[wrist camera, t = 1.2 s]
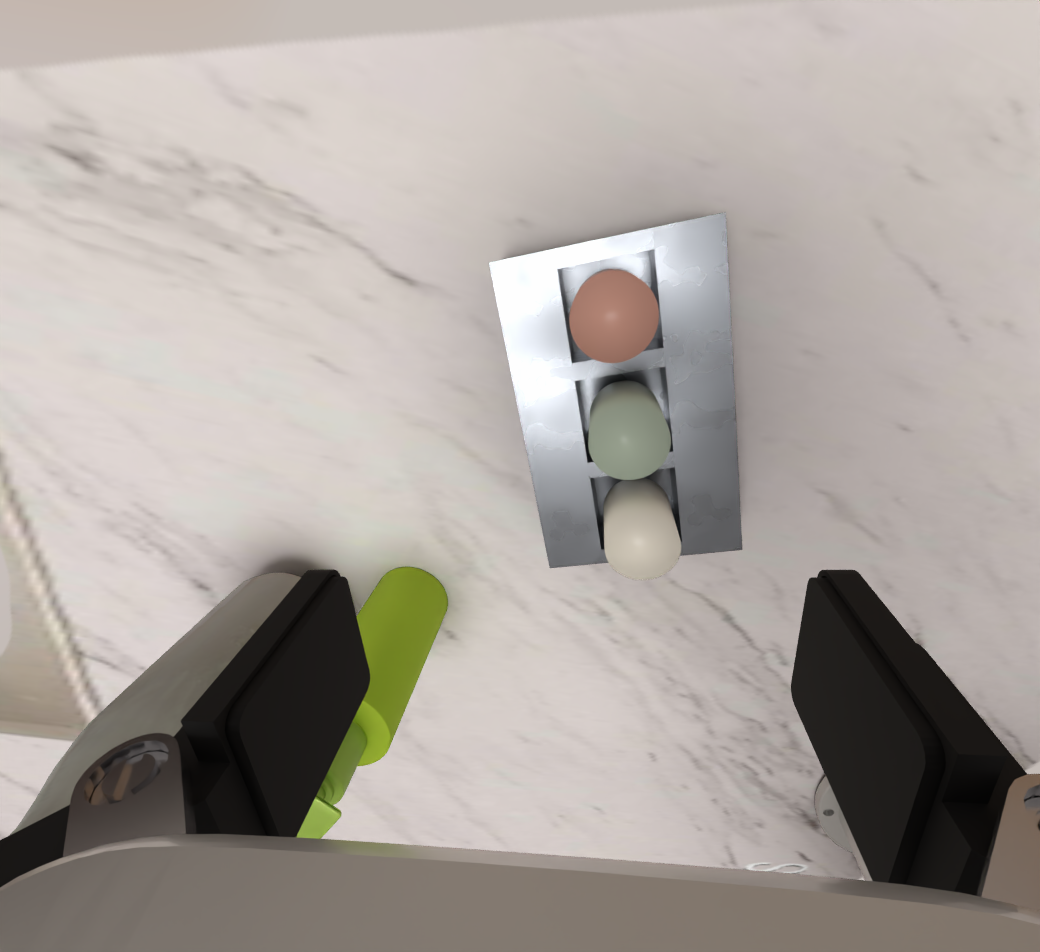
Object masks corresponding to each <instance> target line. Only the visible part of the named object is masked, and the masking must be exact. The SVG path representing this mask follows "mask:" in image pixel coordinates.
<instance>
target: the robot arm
mask: <svg viewBox="0 0 1040 952" xmlns="http://www.w3.org/2000/svg"><path fill="white" fill-rule="evenodd" d="M369 684H370V670H369V666H368V662H367V658H366V654H365V650H364V646H363V642H362V638H361V634H360V630H359V625H358V621H357V617H356V613H355V609H354V605H353V601H352V597H351V593H350V589H349V585H348V581H347V579H346V578H345V577H340V574H339V573H338V571H336V570H308V571H307V572H306V573H305V574H304V575H303V576H302V577H301V579H300V580H299V581H298V582H297V583H296V584H295V586H294V587H293V588H292V589H291V590H290V592H289V593H288V594H287V595H286V596H285V598H284V599H283V600H282V601H281V602H280V603H279V605H278V606H277V607H276V608H275V609H274V611H273V612H272V613H271V614H270V615H269V616H268V618H267V619H266V620H265V621H264V622H263V624H262V625H261V626H260V627H259V628H258V629H257V631H256V632H255V633H254V634H253V635H252V637H251V638H250V639H249V640H248V641H247V643H246V644H245V645H244V646H243V647H242V648H241V650H240V651H239V652H238V653H237V654H236V656H235V657H234V658H233V659H232V660H231V661H230V663H229V664H228V665H227V666H226V667H225V669H224V670H223V671H222V672H221V673H220V675H219V676H218V677H217V678H216V679H215V680H214V682H213V683H212V684H211V685H210V686H209V688H208V689H207V690H206V691H205V692H204V693H203V695H202V696H201V697H200V698H199V699H198V701H197V702H196V703H195V704H194V705H193V706H192V708H191V709H190V710H189V711H188V712H187V714H186V715H185V716H184V717H183V718H182V720H181V723H182V727H181V728H180V730H179V731H178V732H177V733H176V735H175V736H174V737H172V736H171V735H169V734H164V733H152V734H145V735H142V736H139V737H136V738H133V739H130V740H128V741H126V742H124V743H122V744H120V745H118V746H116V747H114V748H112V749H111V750H110V751H108V752H107V753H105V754H104V755H103V756H101V757H100V758H98V759H97V760H96V761H95V762H94V763H93V764H92V765H91V766H90V767H89V768H88V769H87V770H86V771H85V772H84V773H83V775H82V776H81V778H80V779H79V780H78V782H77V783H76V785H75V787H74V790H73V793H72V796H71V801H70V805H68V806H66V807H64V808H62V809H60V810H58V811H56V812H55V813H53V814H51V815H49V816H47V817H45V818H43V819H41V820H39V821H37V822H35V823H33V824H31V825H29V826H27V827H25V828H23V829H21V830H19V831H18V832H16V833H14V834H12V835H10V836H8V837H6V838H4V839H2V840H0V952H1040V774H1027V773H1026V772H1025V771H1024V770H1023V768H1022V767H1021V766H1020V765H1019V764H1018V762H1017V761H1016V760H1015V759H1014V757H1013V756H1012V755H1011V754H1010V753H1009V751H1008V750H1007V749H1006V748H1005V746H1004V745H1003V744H1002V743H1001V742H1000V740H999V739H998V738H997V737H996V735H995V734H994V733H993V732H992V731H991V729H990V728H989V727H988V726H987V725H986V723H985V722H984V721H983V720H982V718H981V717H980V716H979V715H978V714H977V712H976V711H975V710H974V709H973V707H972V706H971V705H970V704H969V703H968V701H967V700H966V699H965V698H964V696H963V695H962V694H961V693H960V692H959V690H958V689H957V688H956V687H955V685H954V684H953V683H952V682H951V681H950V679H949V678H948V677H947V676H946V675H945V673H944V672H943V671H942V670H941V668H940V667H939V666H938V665H937V664H936V662H935V661H934V660H933V659H932V657H931V656H930V655H929V654H928V653H927V651H926V650H925V649H924V648H922V647H921V646H920V645H919V644H917V643H915V642H914V640H913V639H912V638H911V637H910V635H909V634H908V633H907V632H906V631H905V629H904V628H903V627H902V626H901V624H900V623H899V622H898V621H897V619H896V618H895V617H894V616H893V614H892V613H891V612H890V611H889V610H888V608H887V607H886V606H885V605H884V603H883V602H882V601H881V600H880V598H879V597H878V596H877V595H876V594H875V592H874V591H873V590H872V589H871V587H870V586H869V585H868V584H867V582H866V581H865V580H864V579H863V577H862V576H861V575H860V574H859V573H858V572H857V571H855V570H822V571H820V572H819V574H818V577H817V578H810V579H809V581H808V585H807V591H806V597H805V603H804V609H803V615H802V621H801V627H800V633H799V639H798V645H797V651H796V657H795V663H794V670H793V676H792V682H791V693H792V698H793V702H794V705H795V707H796V709H797V712H798V714H799V716H800V718H801V721H802V723H803V725H804V727H805V730H806V732H807V734H808V736H809V739H810V741H811V743H812V745H813V748H814V750H815V752H816V755H817V757H818V759H819V761H820V764H821V766H822V768H823V770H824V773H825V775H826V776H825V777H824V779H823V780H822V782H821V783H820V785H819V786H818V789H817V792H816V794H815V804H814V805H815V810H816V815H817V817H818V819H819V822H820V824H821V827H822V829H823V830H824V832H825V833H826V834H827V836H828V837H829V838H830V839H831V840H832V841H833V842H835V843H836V844H837V845H838V846H840V847H842V848H843V849H845V850H847V851H849V852H851V853H853V854H854V856H855V858H856V860H857V863H858V865H859V867H860V870H861V872H862V874H863V877H864V879H865V881H863V880H853V879H842V878H832V877H822V876H811V875H801V874H790V873H778V872H766V871H753V870H740V869H728V868H715V867H702V866H690V865H677V864H664V863H652V862H639V861H626V860H613V859H599V858H586V857H572V856H559V855H545V854H532V853H518V852H504V851H490V850H476V849H462V848H448V847H434V846H419V845H404V844H389V843H374V842H359V841H344V840H329V839H314V838H297V837H296V836H297V834H298V832H299V830H300V828H301V826H302V824H303V822H304V820H305V818H306V816H307V814H308V812H309V810H310V808H311V806H312V803H313V801H314V799H315V797H316V795H317V793H318V791H319V789H320V787H321V785H322V783H323V781H324V779H325V777H326V775H327V773H328V771H329V769H330V767H331V764H332V762H333V760H334V758H335V756H336V754H337V752H338V750H339V748H340V746H341V744H342V742H343V740H344V738H345V736H346V734H347V732H348V730H349V728H350V725H351V723H352V721H353V719H354V717H355V715H356V713H357V711H358V709H359V707H360V705H361V703H362V701H363V699H364V697H365V695H366V693H367V690H368V688H369Z"/></svg>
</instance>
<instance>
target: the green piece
mask: <svg viewBox="0 0 1040 952" xmlns="http://www.w3.org/2000/svg"><path fill="white" fill-rule="evenodd" d="M588 446H589V452H590V455H591V458H592V460H593V461H594V463H595V464H596V466H597V467H598V468H599V469H600V470H601V471H603V472H604V473H605V474H607V475H609V476H611V477H613V478H616V479H621V480H636V479H640V478H644V477H646V476H648V475H650V474H652V473H653V472H655V471H656V470H657V469H658V468H659V467H660V466H661V465H662V464H663V463H664V461H665V460H666V458H667V456H668V454H669V450H670V446H671V435H670V431H669V428H668V425H667V423H666V420H665V418H664V415H663V413H662V410H661V408H660V405H659V403H658V401H657V399H656V397H655V395H654V394H653V392H652V391H651V390H650V389H649V388H647V387H646V386H644V385H643V384H640V383H638V382H635V381H627V380H624V381H617V382H614V383H611V384H609V385H607V386H606V387H604V388H603V389H602V390H601V391H599V393H598V394H597V395H596V396H595V398H594V400H593V402H592V404H591V408H590V417H589V439H588Z"/></svg>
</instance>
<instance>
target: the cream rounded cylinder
mask: <svg viewBox="0 0 1040 952" xmlns="http://www.w3.org/2000/svg"><path fill="white" fill-rule="evenodd" d="M603 511H604V548H605V555H606V558H607V560H608V562H609V564H610V565H611V566H612V568H613V569H614V570H615V571H617V572H618V573H619V574H621V575H623V576H625V577H627V578H631V579H635V580H650V579H654V578H657V577H660V576H662V575H664V574H666V573H667V572H668V571H670V570H671V569H672V568H673V567H674V566H675V564H676V563H677V561H678V559H679V557H680V553H681V541H680V537H679V534H678V530H677V527H676V524H675V520H674V517H673V513H672V510H671V506H670V503H669V499H668V496H667V494H666V492H665V491H664V490H663V488H662V487H661V486H659V485H658V484H657V483H655V482H654V481H651V480H649V479H646V478H640V479H636V480H623V481H620V482H619V483H617V484H615V485H614V486H613V487H612V488H611V489H610V490H609V492H608V493H607V495H606V497H605V500H604V506H603Z"/></svg>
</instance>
